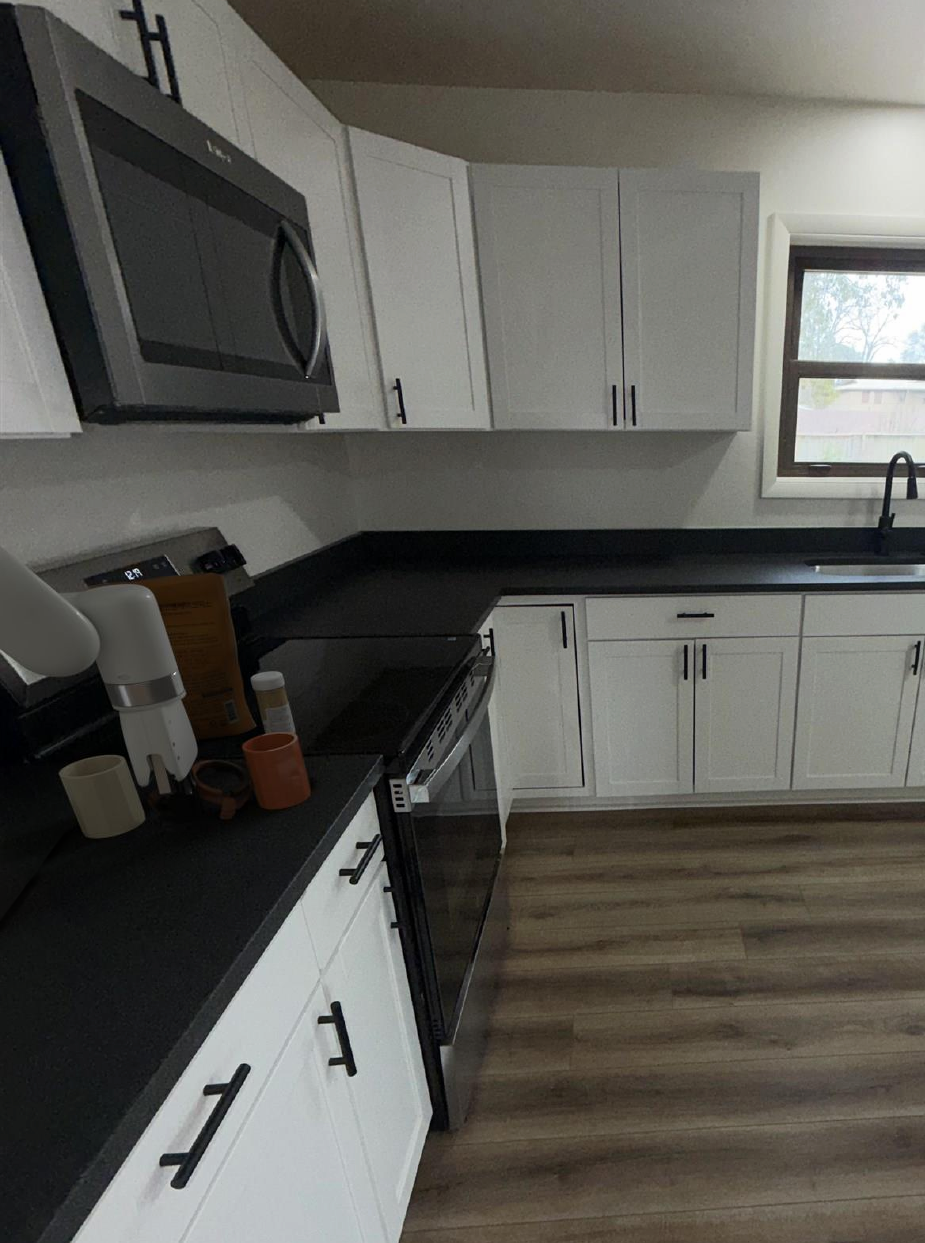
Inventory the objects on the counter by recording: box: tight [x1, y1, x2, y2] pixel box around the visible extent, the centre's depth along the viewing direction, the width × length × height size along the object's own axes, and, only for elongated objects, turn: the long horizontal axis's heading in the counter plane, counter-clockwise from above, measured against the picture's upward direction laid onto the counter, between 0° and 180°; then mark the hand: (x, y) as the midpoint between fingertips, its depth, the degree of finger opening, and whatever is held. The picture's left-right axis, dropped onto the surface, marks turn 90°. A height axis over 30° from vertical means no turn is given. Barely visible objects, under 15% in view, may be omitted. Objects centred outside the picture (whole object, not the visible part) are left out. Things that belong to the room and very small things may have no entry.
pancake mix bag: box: [88, 572, 257, 742], centre depth 121 cm, size 7×19×28 cm, turn 113°
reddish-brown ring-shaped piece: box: [147, 759, 251, 820], centre depth 101 cm, size 12×10×8 cm
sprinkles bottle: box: [250, 670, 297, 735], centre depth 119 cm, size 5×5×14 cm
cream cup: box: [58, 754, 146, 839], centre depth 98 cm, size 7×7×9 cm
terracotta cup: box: [241, 732, 312, 810], centre depth 105 cm, size 7×7×9 cm
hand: (190, 818), depth 97 cm, fingers closed
